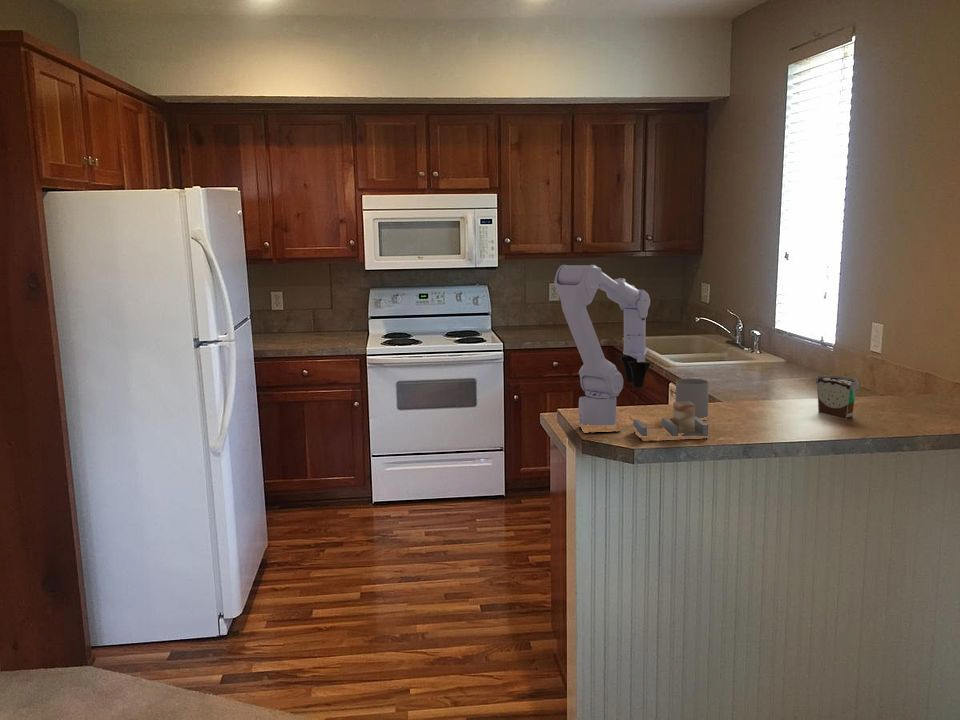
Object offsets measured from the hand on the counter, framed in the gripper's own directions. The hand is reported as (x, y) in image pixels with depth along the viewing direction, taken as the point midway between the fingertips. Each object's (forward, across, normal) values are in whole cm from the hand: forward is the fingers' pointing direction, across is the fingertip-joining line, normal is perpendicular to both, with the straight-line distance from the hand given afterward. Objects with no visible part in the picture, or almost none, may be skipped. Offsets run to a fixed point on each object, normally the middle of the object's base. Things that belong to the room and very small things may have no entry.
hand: (634, 384), depth 208 cm
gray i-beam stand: (+9, -19, -4) cm, 22 cm away
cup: (+10, -2, -15) cm, 18 cm away
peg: (+8, -19, -8) cm, 22 cm away
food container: (+10, -6, -54) cm, 55 cm away
